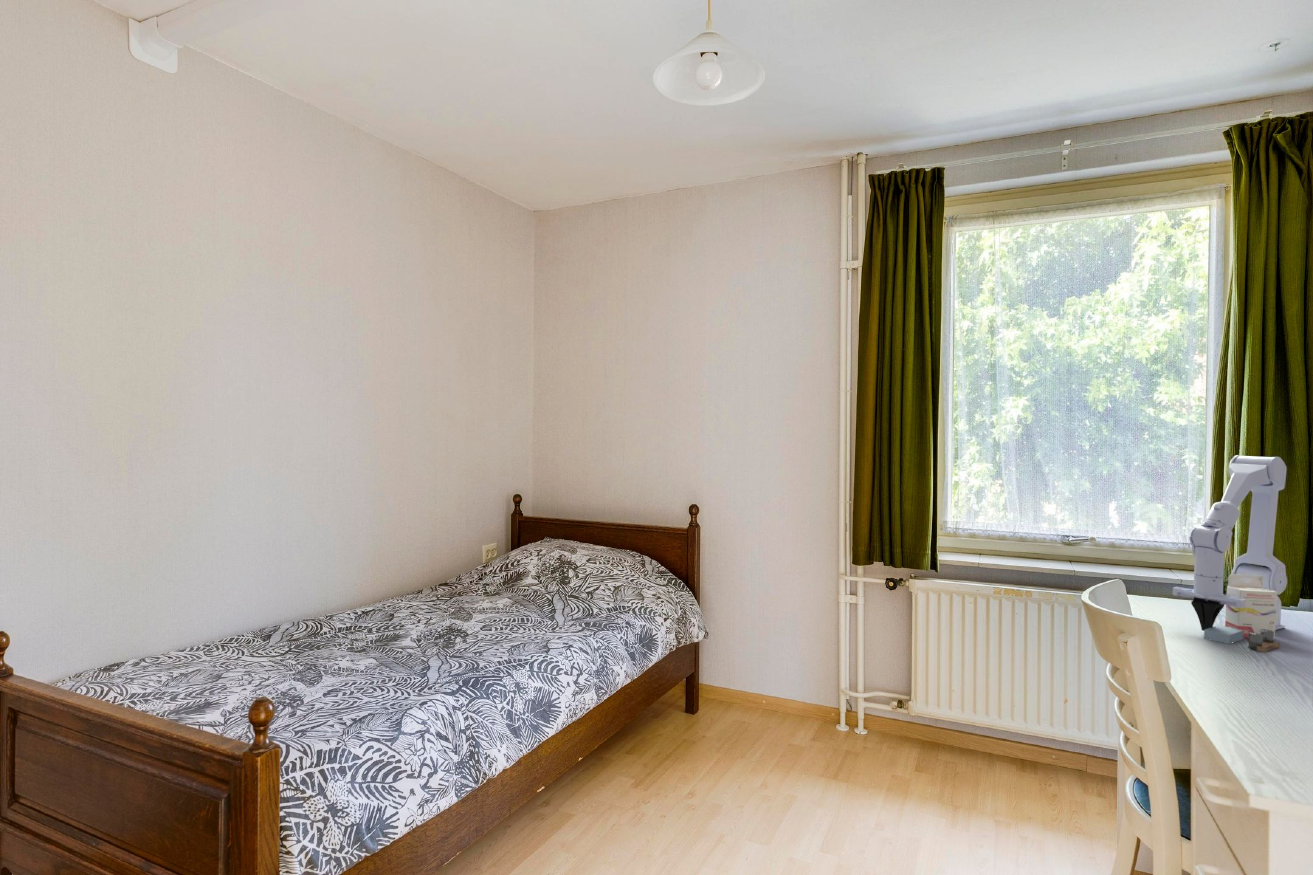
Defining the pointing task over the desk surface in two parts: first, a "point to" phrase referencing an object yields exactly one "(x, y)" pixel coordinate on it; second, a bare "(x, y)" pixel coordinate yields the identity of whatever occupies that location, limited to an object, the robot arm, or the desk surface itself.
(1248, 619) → the ink cartridge box
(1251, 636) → the bench dogs
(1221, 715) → the desk surface
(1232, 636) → the pale blue chamfered block
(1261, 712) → the desk surface
